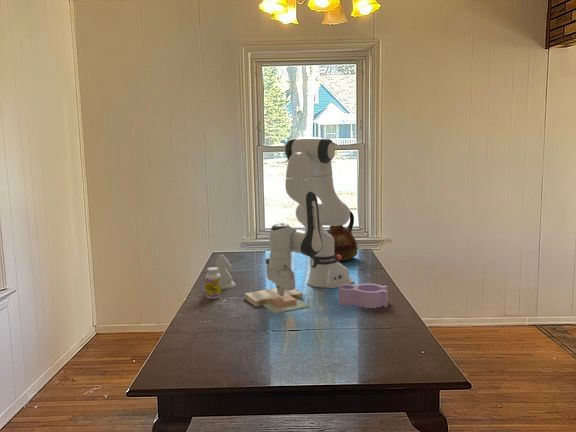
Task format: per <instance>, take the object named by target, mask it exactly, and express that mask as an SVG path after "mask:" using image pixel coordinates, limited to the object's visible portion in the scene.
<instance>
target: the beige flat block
mask: <svg viewBox="0 0 576 432" xmlns="http://www.w3.org/2000/svg"><path fill="white" fill-rule="evenodd" d="M303 295H304V294H303V292H301V291H299V290H298V289H296V288H295V289H294V290H289V291H287V290H285V291H284V296H292V297H293V298H297V299H299V300H301V299H303ZM284 296H280V295H278V294H277V288H276V287H275V288H269V289H263V290H258V291H257V290H256V291H251V292H244V300H246V301H247V302H249V304H251V305H253V306H254V307H255V308H257V307H264V306H263V304H267V303H271V299H272V298H278V297H284Z"/></svg>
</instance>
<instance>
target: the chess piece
mask: <svg viewBox="0 0 576 432" xmlns="http://www.w3.org/2000/svg"><path fill="white" fill-rule="evenodd" d="M215 267H217V268H218V273H219V274H220V275H221V290H229V289H234V288H235V287H236V283H235V281H233V276H232V275H231V274H230V273H229V272H232V270H233V265H232V264H230V262H229V260H228V258H227V257H225V255H224V254H219V255H218V256H217V257H216V259H215Z"/></svg>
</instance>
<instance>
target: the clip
mask: <svg viewBox="0 0 576 432" xmlns="http://www.w3.org/2000/svg"><path fill="white" fill-rule="evenodd" d="M337 297H338V300H337V301H338V305H341V306H344V305H356V306H355V307H358V306H360V307H359V308H361V307H366V308H365V309H367V308H375V309H377V308H376V307H380V308H382V307H381V306H385V307H386V306H387V307H388V286H387V285H381V284H377V283H376V284H375V283H360V284H353V283H351V284H342V285H339V287H338V296H337ZM385 307H384V308H385ZM387 307H386V308H387Z"/></svg>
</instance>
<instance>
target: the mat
mask: <svg viewBox="0 0 576 432" xmlns="http://www.w3.org/2000/svg"><path fill="white" fill-rule="evenodd" d="M295 299H296V300H297V304H295V305H289V306H284V307H278V308H277V307H275V306H274V305H272V304H271V303H267V304H263V306H262V307H264V308H265V309H267V310H268V311H269V312H271V313H272V314H280V313H286V312H290V311H297V310H302V309H307V308H310V305H309V304H307V303H306V302H304V301H302V300H301V299H297V298H295Z"/></svg>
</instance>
